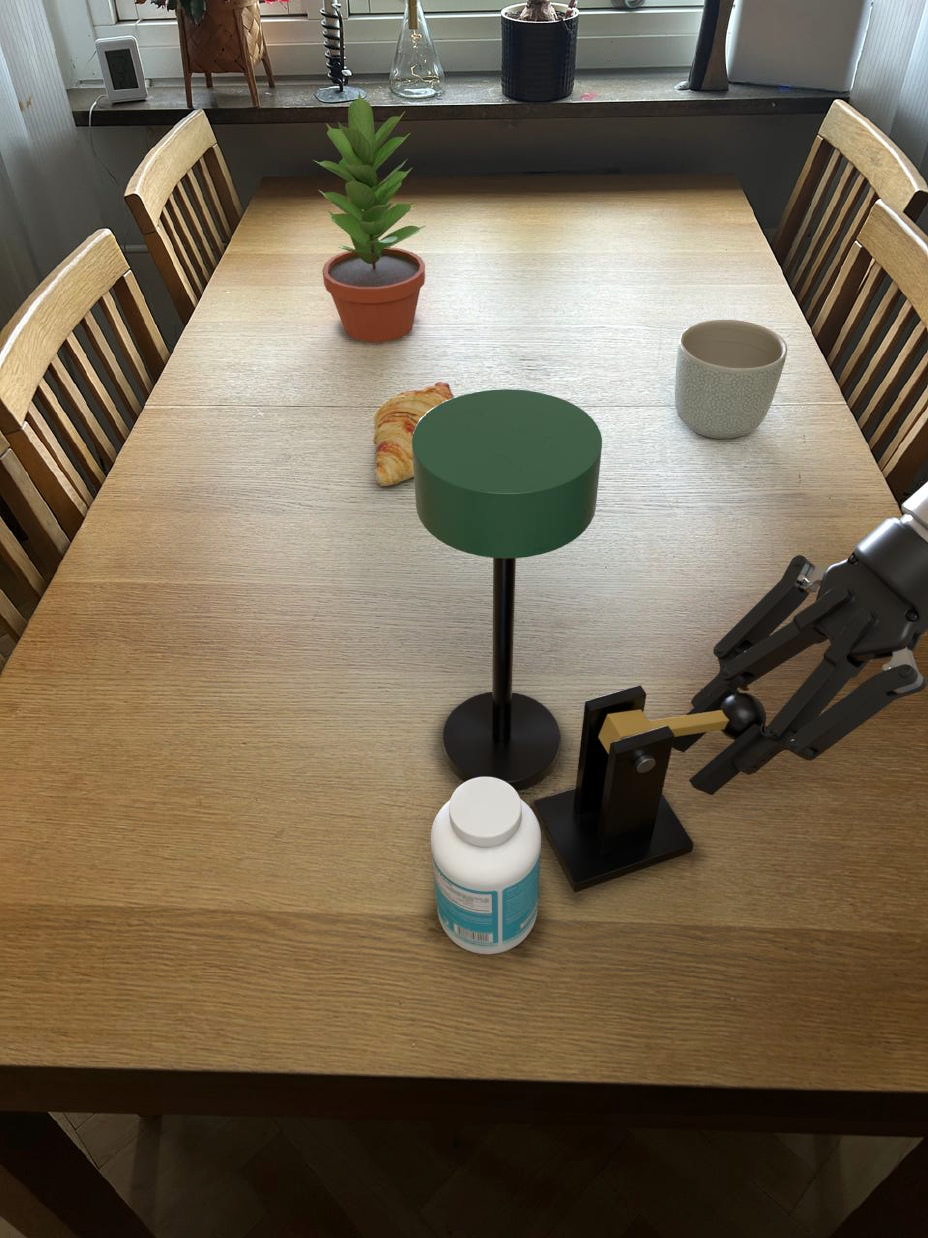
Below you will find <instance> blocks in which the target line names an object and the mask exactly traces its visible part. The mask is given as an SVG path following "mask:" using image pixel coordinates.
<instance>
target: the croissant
mask: <svg viewBox="0 0 928 1238" xmlns="http://www.w3.org/2000/svg"><path fill="white" fill-rule="evenodd" d="M452 398H455V395H454V394H453V392H452V390H451V385H450V384H449V382H442V381H437V382H436V383H435V384H434V385H430V386H426V387H424V388H423V389H416V390H415V389H413V390H408V391H404V392H400V393H398V394H396V395H394V396H393V397H390V398H389V399H387V400H386V401H385V402H384V403H382V404H381V406H380V407H379V408H378V409H377V410H376V412H375V413H374V415H373V429H374V436H373V444H374V445H375V446H376V452H375V454H374V461H375V463H376V468H375V470H374V474H375V481H376V482H377V483H378V484H379V486H382V487H388V486H393V485H397V484H399V483H401V482H403V481H407V480H411V479H412V478H414V469H413V454H412V436H413V432H414V429H415V427H416V425H417V424H418V422H419V421H420V420H421V418H422V417H423V416H424V415H425V414H426V413H427V412H429V411H430V410H431V409H433V408H434V407H436V406H437V405H439V404H441V403H443V402H445V401H447V400H450V399H452Z"/></svg>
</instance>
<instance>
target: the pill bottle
mask: <svg viewBox="0 0 928 1238" xmlns="http://www.w3.org/2000/svg"><path fill="white" fill-rule="evenodd" d="M430 851H431V860H432V871H433V881H434V890H435V902H436V910H437V916H438V921H439V923H440V925H441V927H442V929H443V931H444V933H445V934H446V936H447V937H448V938H449V939H450V940H451V941H452V942H453V943H454V944H456V945H457V946H458V947H460V948H462V949H464V950H466V951H467V952H468V951H469V952H471V953H474V954H478V955H495V954H501V953H504V952H507V951H509V950H512V949H513V948H515V947H517V946H518V945H519V944H521V943H522V942H523V941H524V940H525V939H526V938H527V937H528V935H529V934H530V933H531V931H532V930H533V928H534V925H535V923H536V920H537V917H538V909H539V893H540V891H539V890H540V872H541V871H540V870H541V869H540V868H541V851H542V832H541V827H540V822H539V820H538V818H537V816H536V814H535V812H534V810H533V809H532V808H530V806H529V805H528V804H527V803H526V802H525V801H524V800H522V799H521V798H520V795H519V793H518V791H517V792H516V790H515V789H514V788H513V787H512V786H511V785H509V784H508V783H506V782H505V781H503V780H500V779H497V778H493V777H477V778H474V779H470V780H468V781H466V782H464V781H463V783H462V784H461V783H460V785H459V786H458V787H457V788H456V789H455V790H454V792H453V793H452V795H451V797H450V799H449V800H448V801H447V802H445V804H444V805H443V806H442V807H441V808H440V810H439V811H438V813H437V814H436V816H435V818H434V820H433V823H432V826H431V830H430Z"/></svg>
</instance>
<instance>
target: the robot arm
mask: <svg viewBox="0 0 928 1238" xmlns="http://www.w3.org/2000/svg"><path fill="white" fill-rule="evenodd" d="M900 510H901V512H902V513H903V515H902V516H901V517H900V518H897V517H896V516H892V517H891V518H890V517H886V519H885V520H883V521H882V522H881V523H880V524H879V525H878V526H876V527H875V528H874V529H873V530H872V531H871V532H869V534H868V535H867V536H866V537H864V538H863V539H862V540H861V541H860V542H859V543H858V544H856V546H854V550H853V551H852V553H851V555H849V557H847V558H846V559H843V560H842V561H840V562H836V563H833V564H832V565H830V566H828V567H826V566H822V565H820V564H817V563H814V562H811V561H810V560H809V559H808V558H807V557H805V556H804V555H802V554H798V555H797V554H796V555H795V556H793V557H792V558H791V560H790V562H789V564H788V565H787V568H786V569H785V571H784V573H783V575H782V577H781V579H780V580H779V581H778V582H777V583H776V584H775V585H774V586H773V587H772V588H771V589H770V590H769V591H768V592H767V593H766V594H765V595H764V596H763V597H762V598H761V599H760V600H759V601H758V602H757V603H756V604H755V605H754V606H753V607H752V608H751V609H750V610H749V611H748V612H747V613H746V614H745V615H744V616H743V617H742V618H741V619H740V620H739V621H738V622H737V623H736V624H735V625H734V626H733V627H732V628H731V629H730V630H729V631H728V632H727V633H726V634H725V635H724V636H723V637H722V638H721V639H720V640H719V641H718V642H717V643H716V644H715V645H714V647H713V650H712V651H713V655H714V656H715V657H716V658H717V662H718V664H719V671H718V674H717V675H716V676H715V677H714V678H713V679H711V680H710V681H709V682H708V683H707V684H706V685H705V686H704V687H702V688H701V689H700V690H699V691H697V693H696V694H694V696H692V699H691V700H690V704H691V706H692V707H693V708H692V709H691V710H689V711H688V712H687V713H686V714H685V715H692V714H699V713H705V712H712V711H717V708H718V706H719V704H720V703H721V701H722V700H723V699H724V698H726V697H727V696H729V695H731V694H734V693H741V692H740V691H739V690H738V689H740V690H742V692H748V691H750V688H749V685H751V684H752V683H754V682H755V681H757V680H759V679H760V678H762V677H764V676H765V675H767V674H768V673H771V672H772V671H773V670H775V669H776V668H778V667H780V666H781V665H783V664H785V663H786V662H787V661H789V660H791V659H793V658H795V657H796V656H797V655H799V654H800V653H802V652H804V651H806V650H807V649H809V648H810V647H811V646H813V645H817V644H823V643H824V642H827V640H828V641H829V644H830V645H829V646H828V647H827V648H826V649H825V650H824V652H823V658H822V660H821V661H820V663H818V665H817V666H816V667H815V669H813V671H812V672H811V673H810V674H809V675H808V677H807V678H806V679H805V680H804V681H803V683H802V684H801V685H800V686H799V688H798V689H797V690H796V691H795V692H794V693H793V694H792V696H791V697H790V698H789V699H788V700H787V702H786V703H785V704H784V705H783V707H781V709H780V710H779V712H777V714H775V716H774V717H773V718H772V719H771V720H770V722H769V723H768V724H767V725H766V724H765V725H764V724H762V725H761V726H758V725H756V724H753V725H752V726H751V727H750V728H749V729H748V730H746V731H745V732H744V733H743V734H742V735H741V736H739V737H738V738H737V739H736V740H733V741H732V742H731V743H730V744H729V745H728V746H727V747H725V748H724V749H723V750H722V751H721V752H720V753H718V754H717V755H716V756H715V757H713V758H712V759H711V760H710V761H709V762H708V763H707V764H705V765H704V766H703V767H702V768H701V769H700V770H698V771H697V772H696V773H695V774H694V775H693V776H691V777H690V778H689V779H688V781H689V783H690V784H691V786H692V788H693V789H696V790H698V791H700V792H702V793H704V794H707V795H710V796H714V795H715V794H716V793H717V792H718V791H719V790H720V789H722V788H723V787H724V786H725V785H727V784H728V783H729V782H730V781H731V780H733V779H734V778H735V777H736V776H738V775H739V774H740V773H742V774H745V775H747V776H752V775H754V774H756V773H757V772H758V771H760V770H761V769H762V768H763V767H765V765H767V764H768V763H769V762H770V761H772V760H773V759H774V758H775V757H776V756H778V755H779V754H780V753H781V752H784V751H788V752H790V753H792V754H794V755H796V756H797V757H798V758H801V759H803V760H806V761H808V762H809V761H811V762H812V761H814V760H816V758H818V757H819V756H821V755H822V754H823V753H825V752H826V751H827V750H829V749H830V748H831V747H833V746H835V745H836V744H837V743H839V742H840V741H841V740H843V739H844V738H845V737H847V736H848V735H849V734H851V733H852V732H853V731H855V730H856V729H858V728H859V727H860V726H862V725H863V724H864V723H866V722H867V721H869V720H870V719H871V718H872V717H874V716H875V715H877V714H878V713H880V712H881V711H882V710H883V709H885V708H886V707H888V706H889V705H890V704H892V703H893V702H894V701H896V700H898V699H902V698H905V697H908V696H911V695H914V694H918V693H920V692H922V691H924V690H925V689H926V688H927V685H928V680H927V678H926V676H924V675H923V674H922V673H920V671H919V670H918V669H919V668H918V666H917V663H916V660H915V657H914V654H913V651H914V650H915V649H916V647H917V646H918V644H919V641H920V639H921V637H922V636H923V634H924V633H926V631H928V481H927V482H925V483H924V484H923V485H922V486H921V487H920V488H919V489H917V491H915V492H914V493H913V494H912V495H911V496H910V497H908V498H907V499H906V500H905V501H904V502H902V503H901V508H900ZM811 593H817V595H816V599H815V601H814V602H813V603H811V604H810V605H808V606H806V607H805V608H804V609H802V610H800V611H799V612H797V613H796V614H794V616H793V618H792V620H791V621H790V622H788V623H786V624H785V625H784V626H782V627H780V626H781V625H782V624H783V623H784V622H785V621H786V620H787V619H788V618H789V617H790V616H791V615H792V614H793V613H794V612H795V611H796V610H797V609H798V608H799V607H800V606H801V605H802V604H803V603H804V602H805V601H806V599H807V598H808V597H809V595H810V594H811ZM779 627H780V628H779ZM778 628H779V629H778ZM887 658H890V660H889V661H888V662H886V663H883V664H882V666H881V671H880V672H878V673H876V674H874V675H871V677H869V678H867V679H865V681H863V682H862V683H860V684H859V685H857V686H856V687H855V688H854V689H852V690H851V691H850V692H849V693H847V694H846V695H844V696H843V697H841V699H838V701H836V702H835V703H833V704H832V705H831V706H830V707H828V705H829V704H831V702H832V700H834V698H835V697H836V696H837V695H838V693H839V692H841V691H842V689H843V688H844V687H845V685H847V684H848V682H849V681H850V680H851V679H854V678H856V677H857V676H858V675H860V674H861V672H862V671H863V670H864V669H865V667H866V666H868V664H869V662H871V661H873V660H879V659H887ZM827 707H828V708H827ZM826 708H827V709H826ZM824 710H825V711H824ZM706 734H708V732H703V733H696V734H690V735H683V736H677V737H674V741H673V745H672V749H674V750H676V751H677V752H678V751H679V752H681V753H683V754H684V753H686V752H687V751H688V750H689V749H690V748H691V747H693V746H694V745H695V744H696V743H697V742H698V741H700V739H701V738H703V737H704V736H705V735H706Z"/></svg>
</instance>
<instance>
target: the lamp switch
mask: <svg viewBox="0 0 928 1238" xmlns="http://www.w3.org/2000/svg"><path fill="white" fill-rule="evenodd" d="M753 724H756V725H758V726H761V725H762V724H764V725H766V724H767V712H766V709H765V706H764V705H763V703H762V702H761V701H760V699H759V698H757V697H756V696H754V695H752V694H751V693H747V692H740V693H734V694H731V695H729V696H727V697H726V698H724V699H723V700H722V701H721V703H720V704H719V706H718V708H717V711H712V712H705V713H699V714H692V715H686V714H685V715H679V716H671V717H665V718H658V719H651V720H648V718H647V717H646V715H645V713H644V712H642V710H641V709H640V710H632V711H625V712H618V713H611V714H607V716H606V719H605V721H604V724H603V726H602V729H601V731H600V733H599V736H598V738H599V739H600V741H601V743H602V744H603V746H604V748H605V749H606V751H607V753H608V754H609V749H610V743H611V742H615V741H618V740H621V739H624V738H628V737H631V736H634V735H638V734H641V733H644V732H647V731H651V730H654V729H657V728H660V727H664V726H667V725H668V726H669V728H670V729H671V731H672V732H673V734H674V735H675V736H674V737H677V736H683V735H690V734H696V733H703V732H707V733H709V732H715V731H721V733H722V734H723V735H725V736H726V737H727V738H729V739H731V740H732V741H735V740H736V739H737V738H738V737H739V736H741V735H742V734H743V733H744V732H745V731H746V730H748V729H749V728H750V727H751V726H752V725H753Z"/></svg>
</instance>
